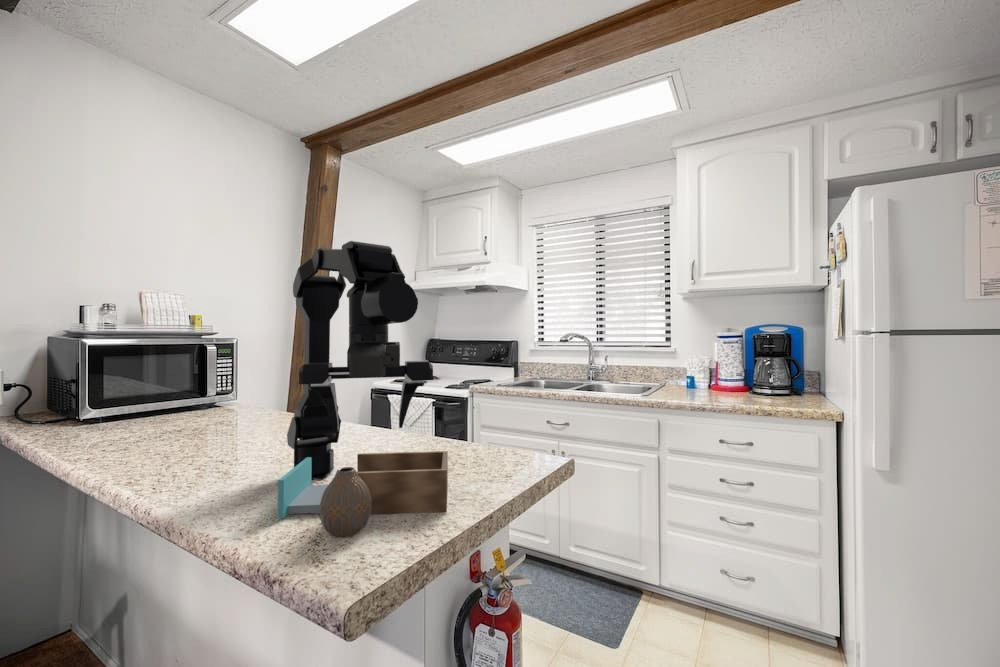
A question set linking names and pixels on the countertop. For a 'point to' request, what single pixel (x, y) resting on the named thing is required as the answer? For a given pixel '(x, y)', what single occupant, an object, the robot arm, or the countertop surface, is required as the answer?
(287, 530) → the countertop surface
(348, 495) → the vase
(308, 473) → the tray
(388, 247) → the robot arm
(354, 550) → the countertop surface
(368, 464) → the caddy
